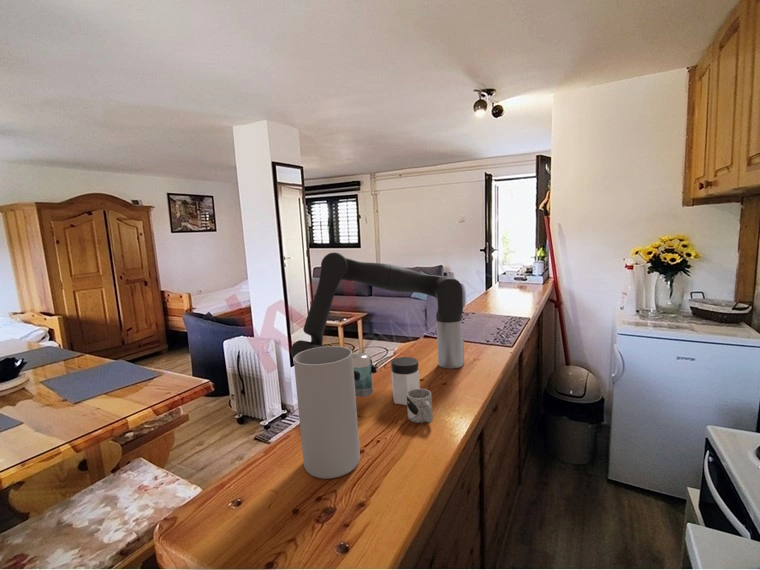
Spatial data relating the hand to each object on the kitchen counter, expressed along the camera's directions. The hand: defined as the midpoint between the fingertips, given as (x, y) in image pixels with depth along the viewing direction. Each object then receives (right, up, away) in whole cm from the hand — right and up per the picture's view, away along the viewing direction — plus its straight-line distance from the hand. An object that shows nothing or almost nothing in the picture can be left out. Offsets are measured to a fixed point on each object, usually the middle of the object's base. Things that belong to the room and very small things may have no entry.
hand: (367, 373), depth 105 cm
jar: (+12, -10, +8) cm, 17 cm away
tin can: (-1, -6, +3) cm, 7 cm away
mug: (+15, -12, -5) cm, 20 cm away
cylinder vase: (-7, -15, -22) cm, 27 cm away
